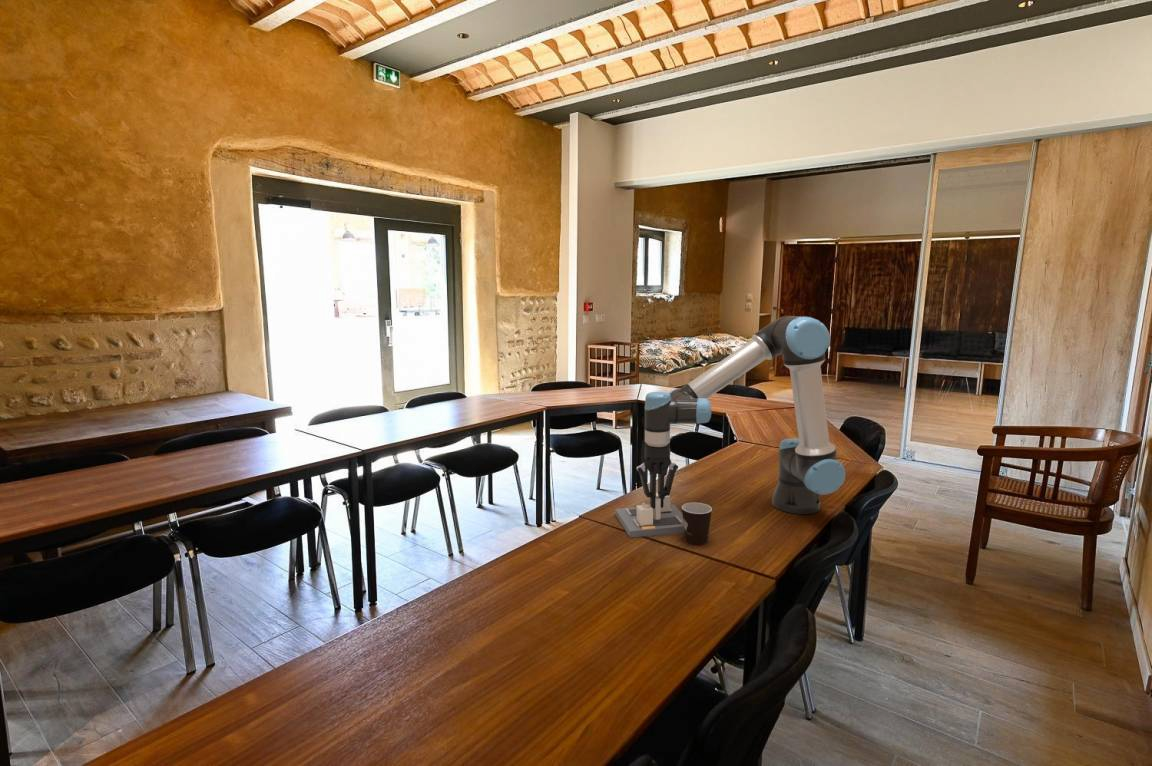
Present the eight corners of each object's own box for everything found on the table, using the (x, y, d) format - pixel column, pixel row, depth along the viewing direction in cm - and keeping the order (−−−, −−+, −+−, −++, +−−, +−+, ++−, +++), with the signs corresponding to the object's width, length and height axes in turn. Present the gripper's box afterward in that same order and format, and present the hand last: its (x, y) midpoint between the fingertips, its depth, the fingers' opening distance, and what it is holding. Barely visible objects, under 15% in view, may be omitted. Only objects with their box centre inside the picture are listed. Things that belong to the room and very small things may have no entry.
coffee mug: (711, 548, 161) (712, 514, 159) (680, 545, 163) (681, 512, 161) (711, 531, 172) (711, 499, 170) (682, 529, 174) (682, 498, 172)
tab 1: (665, 506, 186) (665, 489, 185) (669, 511, 182) (669, 494, 181) (654, 507, 185) (654, 490, 184) (657, 512, 181) (658, 495, 180)
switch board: (673, 509, 189) (673, 502, 189) (693, 531, 172) (693, 523, 171) (615, 514, 186) (615, 507, 186) (630, 537, 168) (630, 529, 168)
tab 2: (649, 519, 176) (649, 501, 175) (653, 524, 172) (653, 506, 171) (636, 520, 175) (636, 502, 174) (640, 525, 171) (640, 507, 170)
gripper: (673, 438, 175) (672, 511, 179) (633, 441, 173) (633, 514, 176) (682, 445, 168) (681, 520, 171) (639, 448, 165) (639, 524, 169)
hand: (656, 517), depth 174 cm, fingers closed
